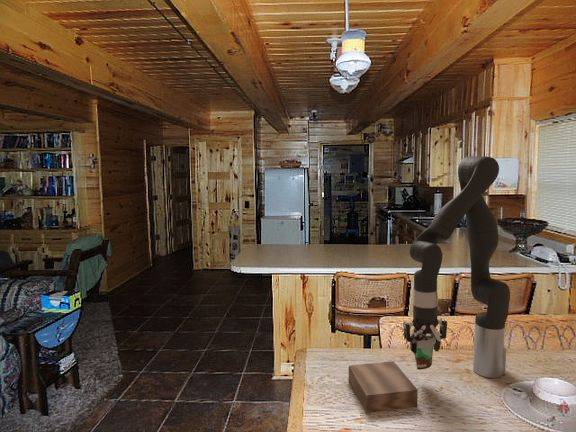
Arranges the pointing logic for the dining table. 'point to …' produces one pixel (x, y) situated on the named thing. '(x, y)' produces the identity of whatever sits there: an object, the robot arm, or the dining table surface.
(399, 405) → the walnut box
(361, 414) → the dining table surface
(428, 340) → the food container
